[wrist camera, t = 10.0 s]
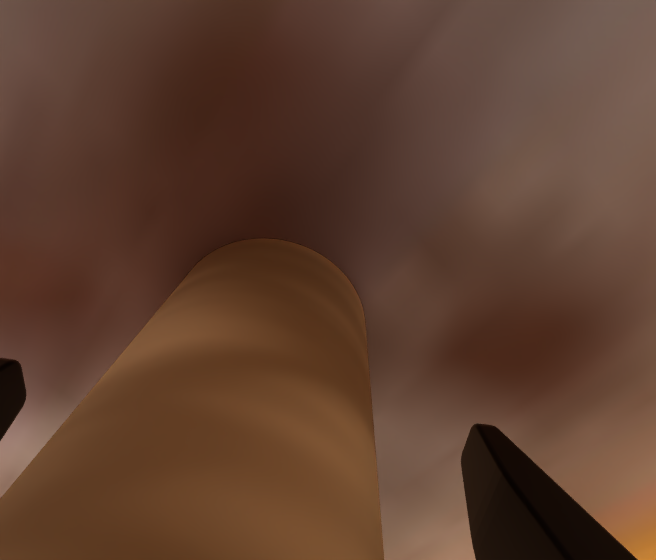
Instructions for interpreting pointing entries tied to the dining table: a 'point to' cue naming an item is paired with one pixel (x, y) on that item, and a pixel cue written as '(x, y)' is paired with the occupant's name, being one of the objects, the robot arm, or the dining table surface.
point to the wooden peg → (218, 428)
